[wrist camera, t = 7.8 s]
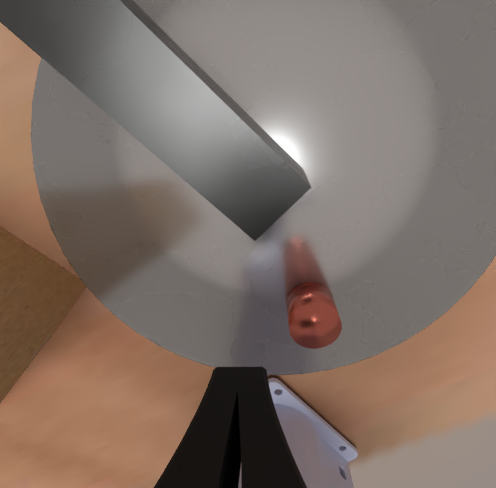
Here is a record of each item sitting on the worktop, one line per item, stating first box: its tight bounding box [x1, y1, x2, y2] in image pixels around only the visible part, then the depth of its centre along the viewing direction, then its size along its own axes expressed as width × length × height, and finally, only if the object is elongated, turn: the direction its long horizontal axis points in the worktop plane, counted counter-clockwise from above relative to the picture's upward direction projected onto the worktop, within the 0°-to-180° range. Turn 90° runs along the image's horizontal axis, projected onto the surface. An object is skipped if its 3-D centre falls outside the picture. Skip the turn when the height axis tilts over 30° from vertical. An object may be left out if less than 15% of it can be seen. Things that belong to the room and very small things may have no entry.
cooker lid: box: [0, 0, 496, 375], centre depth 10 cm, size 17×14×3 cm
